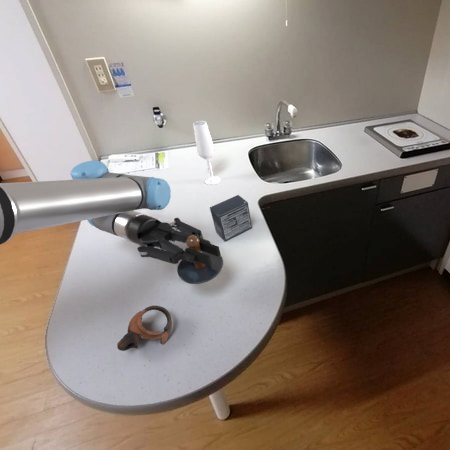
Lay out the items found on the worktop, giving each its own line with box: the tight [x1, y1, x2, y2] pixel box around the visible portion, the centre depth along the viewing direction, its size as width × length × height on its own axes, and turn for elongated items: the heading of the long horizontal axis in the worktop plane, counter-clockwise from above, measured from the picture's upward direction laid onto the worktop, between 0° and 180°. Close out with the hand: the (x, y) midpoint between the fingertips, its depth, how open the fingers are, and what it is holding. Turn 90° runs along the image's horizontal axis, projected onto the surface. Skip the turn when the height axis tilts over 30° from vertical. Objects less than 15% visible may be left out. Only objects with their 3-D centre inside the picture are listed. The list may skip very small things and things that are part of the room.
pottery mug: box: [116, 305, 173, 352], centre depth 70 cm, size 12×10×8 cm
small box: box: [209, 194, 253, 242], centre depth 98 cm, size 11×6×10 cm, turn 130°
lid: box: [176, 235, 224, 285], centre depth 72 cm, size 11×11×10 cm
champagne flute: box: [192, 120, 222, 186], centre depth 117 cm, size 7×7×24 cm
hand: (214, 256), depth 70 cm, fingers closed on lid, 3 cm apart
